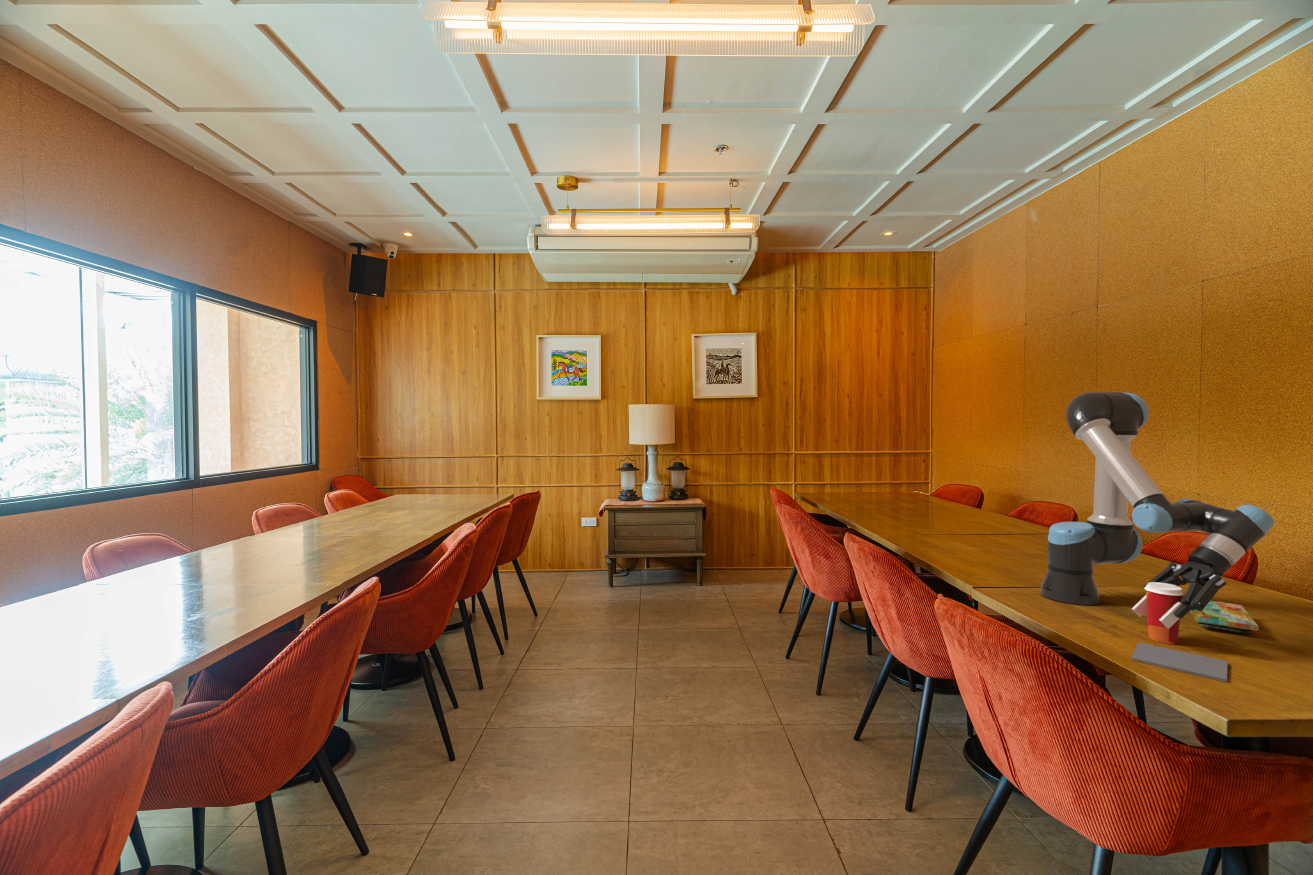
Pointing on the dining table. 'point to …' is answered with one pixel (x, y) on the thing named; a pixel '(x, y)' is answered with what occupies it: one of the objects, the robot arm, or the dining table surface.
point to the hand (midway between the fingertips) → (1149, 618)
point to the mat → (1181, 661)
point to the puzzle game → (1225, 617)
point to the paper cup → (1162, 611)
